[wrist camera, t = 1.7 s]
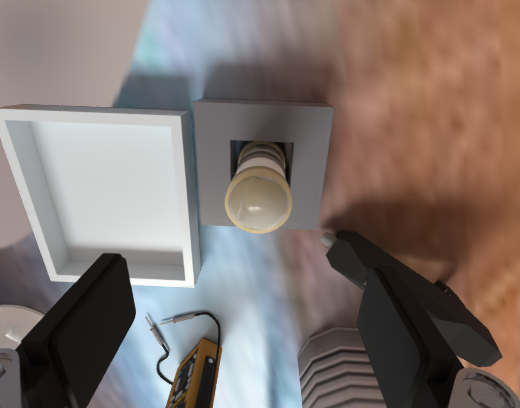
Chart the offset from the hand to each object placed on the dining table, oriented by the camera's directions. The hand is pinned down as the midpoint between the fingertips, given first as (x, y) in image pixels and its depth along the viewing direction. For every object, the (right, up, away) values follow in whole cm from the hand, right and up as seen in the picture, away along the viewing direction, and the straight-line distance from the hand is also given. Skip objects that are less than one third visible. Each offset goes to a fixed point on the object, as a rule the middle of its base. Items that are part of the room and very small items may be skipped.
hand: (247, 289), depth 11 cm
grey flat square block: (+1, +7, +14) cm, 16 cm away
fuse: (+1, +7, +14) cm, 16 cm away
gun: (+13, -2, +18) cm, 23 cm away
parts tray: (-12, +4, +16) cm, 21 cm away
